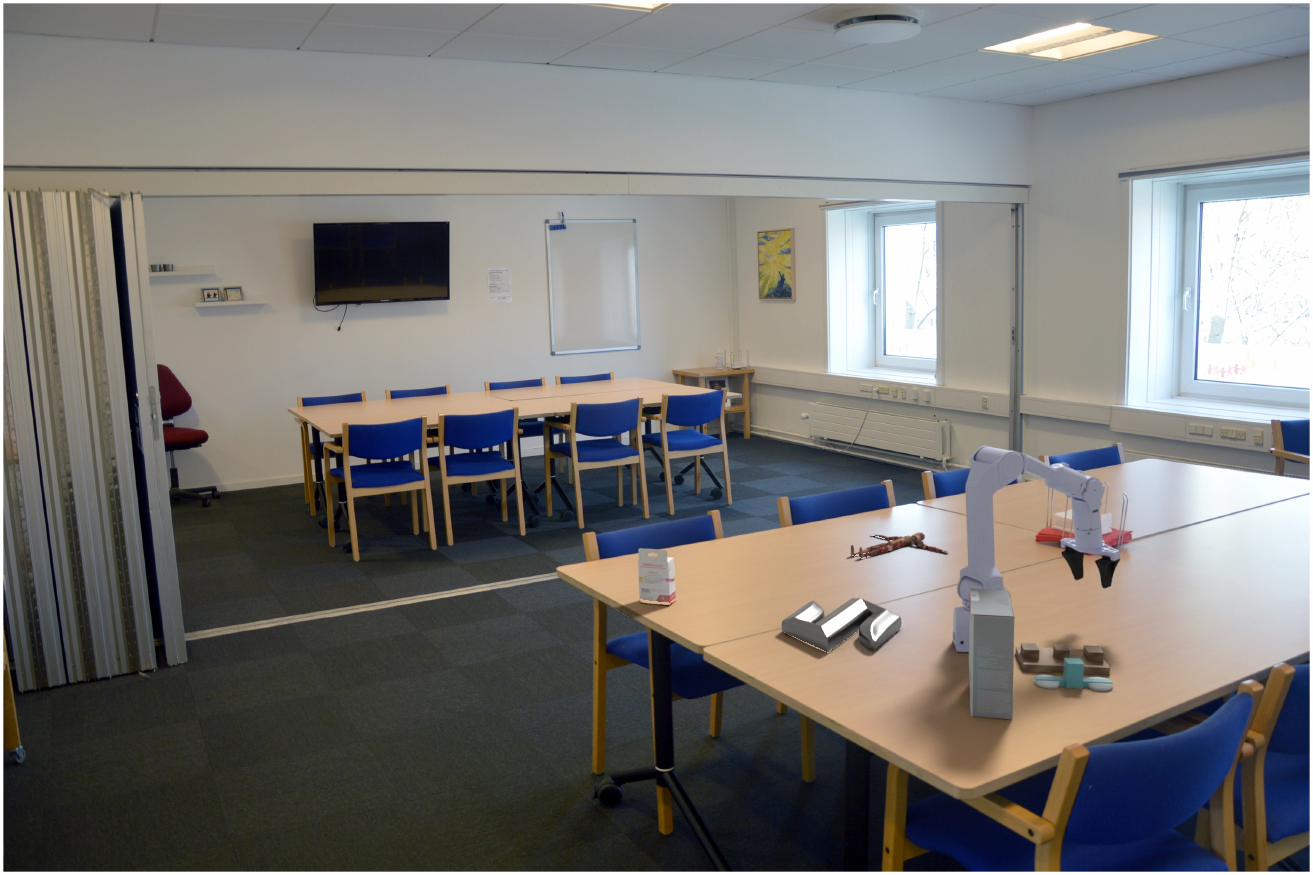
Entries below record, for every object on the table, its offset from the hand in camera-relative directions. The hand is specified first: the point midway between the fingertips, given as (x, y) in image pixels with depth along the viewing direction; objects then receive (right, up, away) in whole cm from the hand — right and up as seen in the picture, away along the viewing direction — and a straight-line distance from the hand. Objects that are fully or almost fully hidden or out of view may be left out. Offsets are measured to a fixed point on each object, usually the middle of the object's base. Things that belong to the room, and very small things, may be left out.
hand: (1092, 582), depth 219 cm
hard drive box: (-36, -17, -37) cm, 54 cm away
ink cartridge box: (-99, -10, +30) cm, 104 cm away
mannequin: (-28, -2, +74) cm, 79 cm away
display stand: (-16, -14, -20) cm, 29 cm away
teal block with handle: (-18, -16, -30) cm, 38 cm away
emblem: (-57, -12, +4) cm, 58 cm away
